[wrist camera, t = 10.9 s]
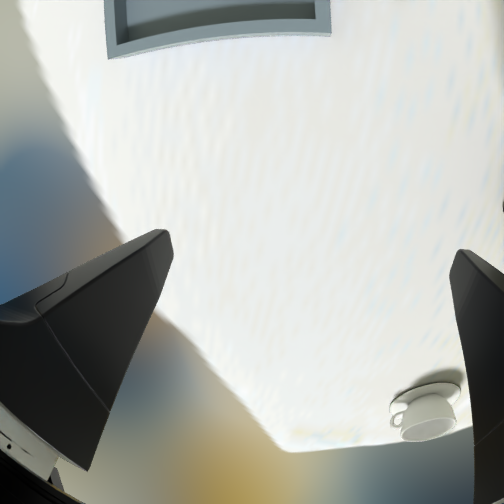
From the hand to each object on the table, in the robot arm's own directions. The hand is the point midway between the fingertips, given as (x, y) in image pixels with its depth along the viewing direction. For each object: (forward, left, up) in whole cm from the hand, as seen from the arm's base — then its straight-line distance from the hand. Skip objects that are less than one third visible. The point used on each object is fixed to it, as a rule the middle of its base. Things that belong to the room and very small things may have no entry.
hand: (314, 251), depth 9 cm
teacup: (-17, +30, -12) cm, 37 cm away
